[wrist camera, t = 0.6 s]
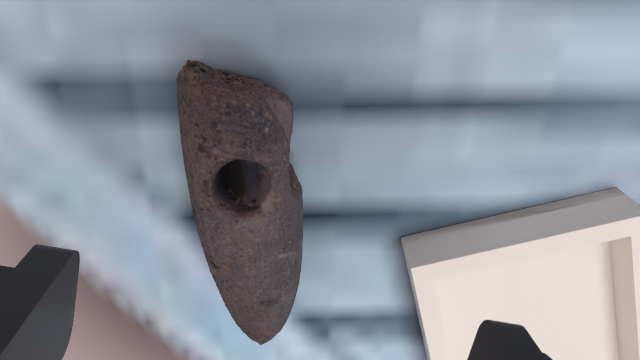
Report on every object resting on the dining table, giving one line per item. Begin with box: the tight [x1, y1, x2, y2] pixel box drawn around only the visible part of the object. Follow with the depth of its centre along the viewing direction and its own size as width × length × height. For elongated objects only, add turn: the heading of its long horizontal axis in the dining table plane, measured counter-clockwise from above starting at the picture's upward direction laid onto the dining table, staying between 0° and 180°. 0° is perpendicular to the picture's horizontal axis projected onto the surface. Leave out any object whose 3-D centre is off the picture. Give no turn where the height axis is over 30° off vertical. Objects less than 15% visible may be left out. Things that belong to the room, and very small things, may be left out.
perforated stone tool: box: [177, 60, 303, 345], centre depth 29 cm, size 15×5×7 cm, turn 3°
